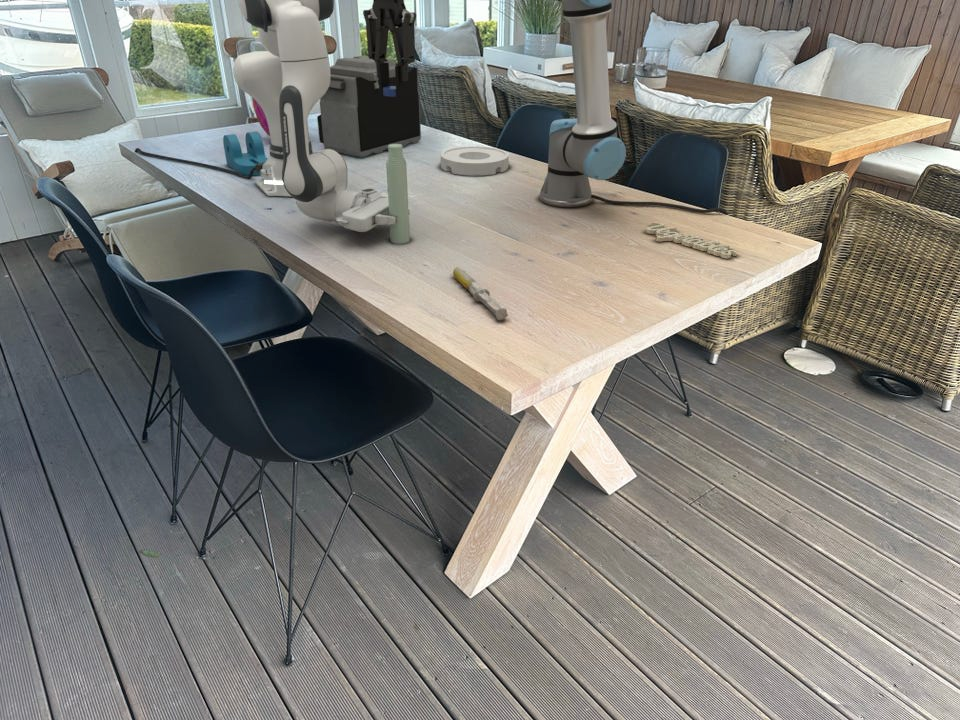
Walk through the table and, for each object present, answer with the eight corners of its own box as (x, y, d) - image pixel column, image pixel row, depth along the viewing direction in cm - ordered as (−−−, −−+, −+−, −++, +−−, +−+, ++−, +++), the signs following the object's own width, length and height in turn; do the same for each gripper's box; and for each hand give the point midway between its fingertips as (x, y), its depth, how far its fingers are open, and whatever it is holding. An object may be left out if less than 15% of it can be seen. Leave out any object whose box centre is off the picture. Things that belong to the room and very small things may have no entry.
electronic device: (383, 133, 276) (378, 52, 261) (425, 141, 265) (422, 56, 250) (314, 150, 251) (304, 61, 235) (358, 160, 240) (350, 67, 224)
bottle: (397, 235, 176) (392, 142, 164) (413, 239, 174) (409, 144, 162) (386, 241, 172) (381, 146, 161) (403, 245, 171) (398, 148, 159)
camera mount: (227, 164, 233) (221, 132, 227) (257, 160, 238) (252, 129, 233) (244, 176, 220) (239, 143, 215) (276, 172, 225) (271, 139, 220)
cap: (379, 94, 156) (378, 87, 155) (395, 92, 159) (395, 85, 158) (390, 97, 153) (390, 90, 152) (407, 95, 156) (407, 87, 155)
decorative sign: (632, 229, 179) (655, 221, 185) (631, 232, 179) (654, 224, 185) (722, 258, 162) (744, 248, 168) (721, 262, 162) (743, 252, 168)
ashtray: (443, 157, 245) (443, 145, 243) (508, 158, 244) (508, 146, 242) (437, 174, 225) (437, 162, 223) (508, 176, 224) (508, 163, 222)
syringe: (449, 274, 155) (449, 263, 153) (465, 272, 156) (464, 260, 154) (490, 323, 135) (491, 310, 133) (508, 319, 136) (508, 307, 134)
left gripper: (329, 208, 165) (379, 216, 160) (374, 186, 181) (421, 193, 176) (332, 233, 168) (380, 242, 163) (376, 209, 184) (421, 216, 179)
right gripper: (430, -22, 142) (433, 97, 154) (369, -24, 151) (376, 88, 163) (406, -21, 137) (411, 102, 149) (344, -24, 146) (353, 93, 158)
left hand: (402, 216), depth 170 cm, fingers closed on bottle, 5 cm apart
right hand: (393, 94), depth 156 cm, fingers closed on cap, 4 cm apart
